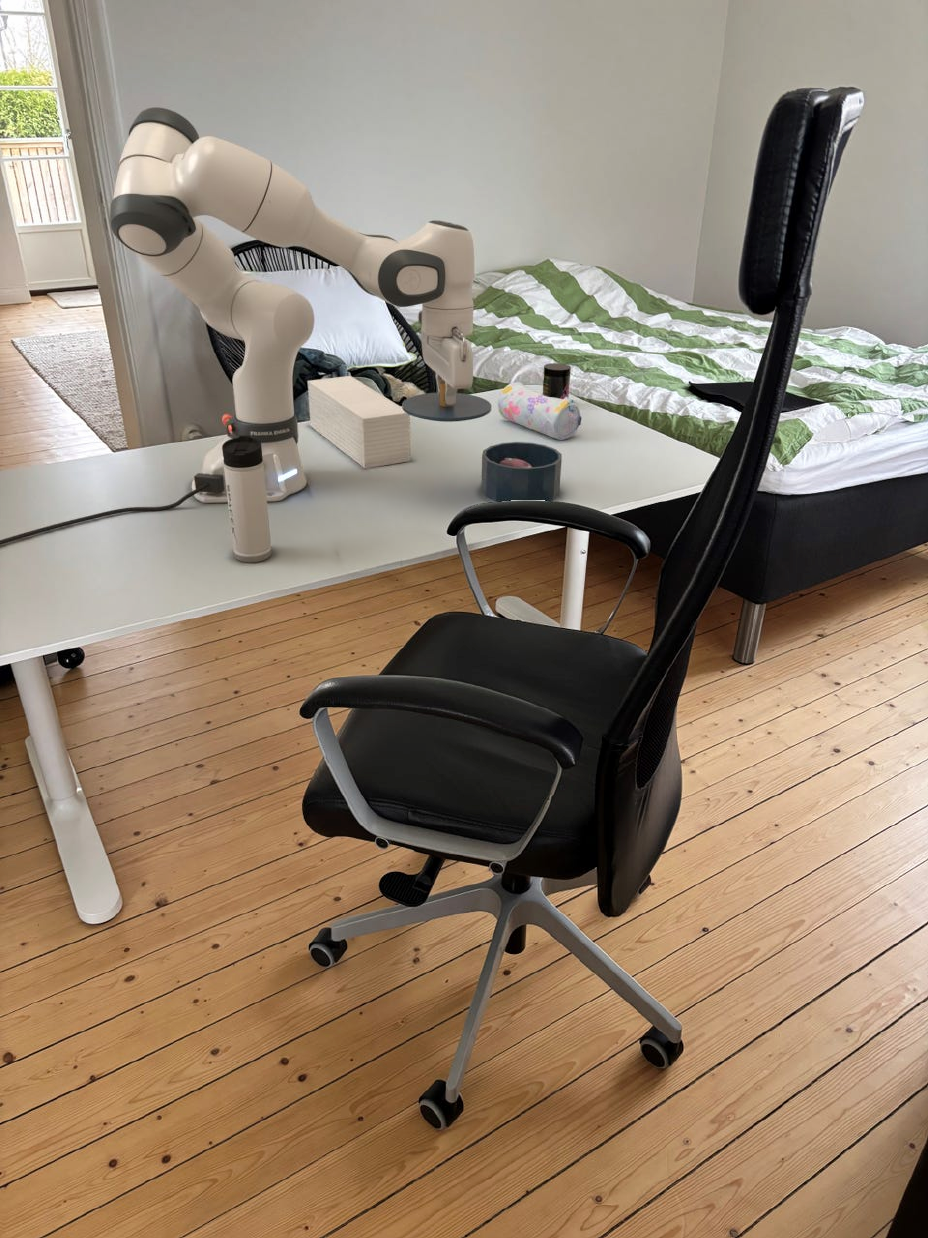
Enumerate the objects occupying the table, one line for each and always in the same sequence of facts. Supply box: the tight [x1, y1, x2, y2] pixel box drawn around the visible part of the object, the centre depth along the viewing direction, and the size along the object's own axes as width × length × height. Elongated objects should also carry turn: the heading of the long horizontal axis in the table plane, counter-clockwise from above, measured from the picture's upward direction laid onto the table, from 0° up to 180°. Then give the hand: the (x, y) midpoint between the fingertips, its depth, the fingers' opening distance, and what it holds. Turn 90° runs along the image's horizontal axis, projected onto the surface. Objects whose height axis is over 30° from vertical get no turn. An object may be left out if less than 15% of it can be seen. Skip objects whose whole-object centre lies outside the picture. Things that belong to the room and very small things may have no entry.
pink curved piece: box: [499, 458, 532, 468], centre depth 184 cm, size 10×5×7 cm, turn 40°
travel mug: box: [222, 435, 272, 564], centre depth 153 cm, size 6×7×20 cm
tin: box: [480, 441, 563, 503], centre depth 183 cm, size 15×15×8 cm
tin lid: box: [401, 381, 492, 423], centre depth 168 cm, size 16×16×5 cm
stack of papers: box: [307, 375, 411, 469], centre depth 207 cm, size 32×11×11 cm, turn 29°
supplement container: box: [541, 362, 572, 399], centre depth 234 cm, size 7×7×10 cm
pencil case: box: [497, 381, 582, 441], centre depth 218 cm, size 21×9×10 cm, turn 41°
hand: (446, 400), depth 168 cm, fingers closed on tin lid, 2 cm apart
